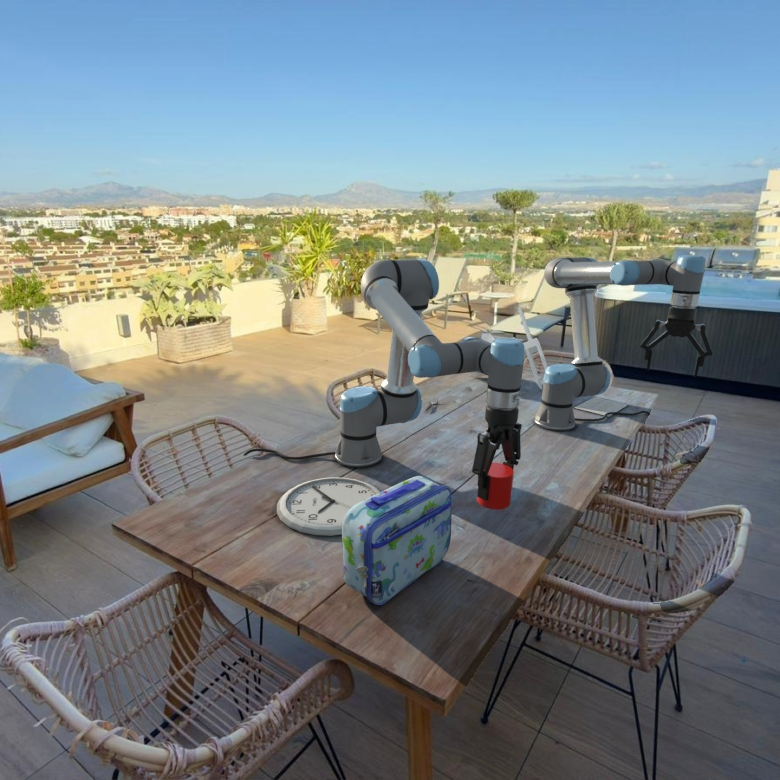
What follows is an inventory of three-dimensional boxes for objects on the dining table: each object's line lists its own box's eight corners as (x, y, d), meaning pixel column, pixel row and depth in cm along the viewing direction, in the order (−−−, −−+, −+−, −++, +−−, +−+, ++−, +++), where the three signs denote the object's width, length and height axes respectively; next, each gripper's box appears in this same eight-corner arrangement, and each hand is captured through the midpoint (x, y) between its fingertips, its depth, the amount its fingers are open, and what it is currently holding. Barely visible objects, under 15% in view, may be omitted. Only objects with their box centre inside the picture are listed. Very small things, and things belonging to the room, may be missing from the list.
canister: (504, 492, 134) (507, 461, 131) (515, 509, 126) (518, 476, 123) (473, 493, 133) (475, 462, 130) (482, 510, 125) (485, 478, 122)
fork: (422, 411, 216) (422, 407, 215) (433, 400, 230) (433, 396, 230) (428, 412, 215) (429, 407, 215) (438, 401, 230) (439, 396, 229)
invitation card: (608, 416, 214) (573, 407, 224) (608, 416, 214) (573, 408, 224) (628, 404, 229) (594, 396, 238) (628, 405, 229) (594, 397, 238)
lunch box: (371, 618, 102) (371, 524, 95) (336, 591, 109) (334, 502, 103) (455, 562, 119) (460, 479, 113) (420, 542, 126) (423, 463, 120)
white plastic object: (487, 418, 267) (468, 395, 242) (469, 346, 289) (449, 318, 264) (558, 394, 255) (545, 368, 230) (533, 321, 277) (518, 289, 252)
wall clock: (392, 527, 129) (268, 531, 127) (391, 533, 130) (269, 537, 127) (383, 473, 158) (282, 475, 155) (383, 478, 158) (282, 480, 156)
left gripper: (485, 420, 112) (478, 512, 119) (542, 401, 125) (532, 485, 132) (459, 410, 118) (453, 499, 125) (516, 393, 131) (508, 475, 138)
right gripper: (638, 304, 165) (628, 369, 171) (731, 312, 153) (716, 381, 159) (640, 302, 171) (630, 365, 177) (729, 308, 159) (715, 375, 166)
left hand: (494, 492), depth 129 cm, fingers closed on canister, 8 cm apart
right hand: (671, 373), depth 168 cm, fingers open, 13 cm apart
